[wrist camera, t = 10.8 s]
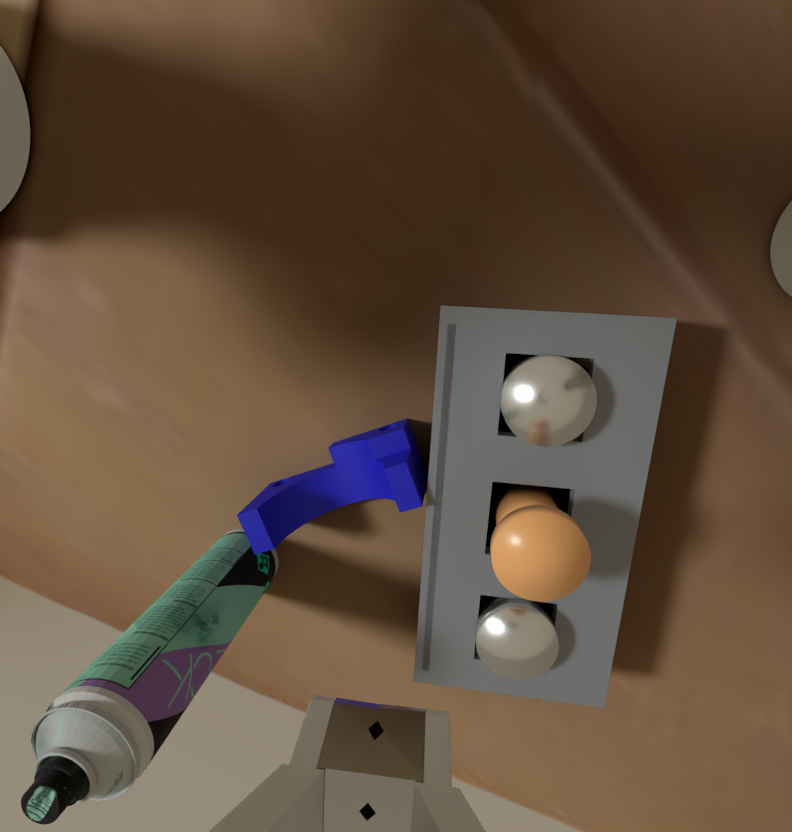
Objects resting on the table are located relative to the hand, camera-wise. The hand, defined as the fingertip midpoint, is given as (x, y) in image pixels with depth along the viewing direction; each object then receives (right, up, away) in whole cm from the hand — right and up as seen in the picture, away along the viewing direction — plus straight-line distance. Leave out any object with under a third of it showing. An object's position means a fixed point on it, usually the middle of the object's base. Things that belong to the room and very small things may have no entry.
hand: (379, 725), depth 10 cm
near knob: (+10, +9, +23) cm, 26 cm away
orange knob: (+9, 0, +21) cm, 23 cm away
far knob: (+9, -7, +26) cm, 29 cm away
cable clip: (-4, +3, +26) cm, 26 cm away
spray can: (-12, -5, +29) cm, 31 cm away
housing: (+9, +1, +24) cm, 26 cm away
